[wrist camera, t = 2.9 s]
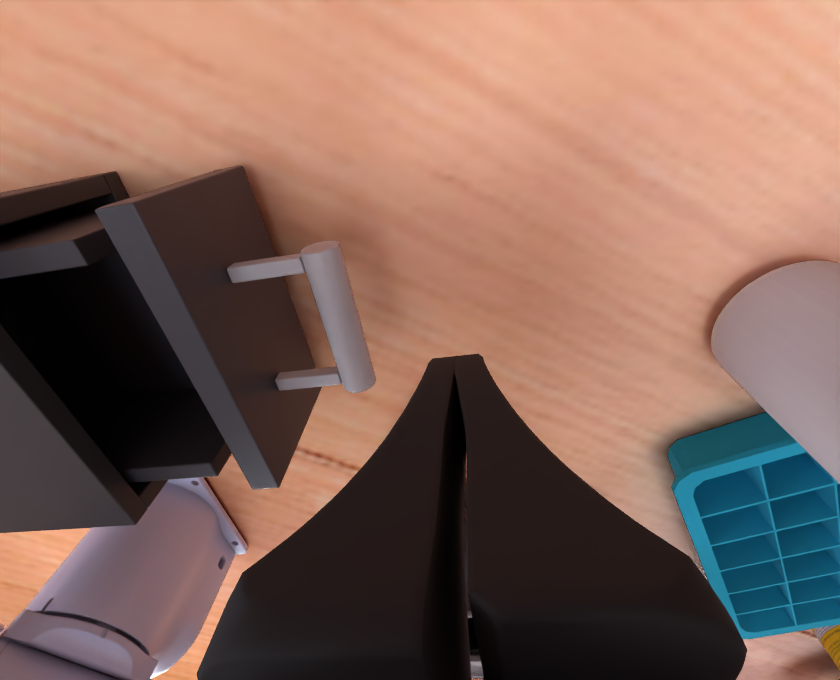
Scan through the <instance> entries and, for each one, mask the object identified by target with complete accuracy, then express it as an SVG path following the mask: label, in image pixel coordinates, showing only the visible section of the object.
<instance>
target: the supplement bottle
mask: <svg viewBox="0 0 840 680" xmlns="http://www.w3.org/2000/svg"><path fill="white" fill-rule="evenodd" d="M812 631H813V632H814V634H815V635H816V637H817V638H818V640H819V641H820V642H821V644H822V645H823V647H824V648H825V650H826V651H827V652H828V654H829V655H830V657H831V658H832V660H833V661H834V663H835V664H836V665H837V667H838V668H839V670H840V624H838V625H832V626H826V627H820V628H814V629H812Z"/></svg>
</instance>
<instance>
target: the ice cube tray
mask: <svg viewBox="0 0 840 680" xmlns="http://www.w3.org/2000/svg"><path fill="white" fill-rule="evenodd" d="M668 459H669V461H670V464H671V467H672V469H673V472H674V475H675V477H676V478H675V480H674V482H673V485H672V487H671V488H672V490H673V493H674V495H675V498H676V501H677V503H678V506H679V508H680V511H681V513H682V516H683V518H684V521H685V523H686V526H687V528H688V531H689V534H690V536H691V539H692V541H693V544H694V546H695V549H696V551H697V554H698V556H699V559H700V562H701V564H702V567H703V569H704V572H705V574H706V577H707V579H708V582H709V584H710V586H711V587H712V589H713V590H714V592H715V593H716V594H717V596H718V597H719V599H720V600H721V602H722V603H723V605H724V606H725V608H726V610H727V611H728V613H729V615H730V616H731V618H732V620H733V621H734V623H735V625H736V627H737V629H738V631H739V633H740V635H741V637H742V639H753V638H759V637H765V636H771V635H777V634H783V633H789V632H795V631H802V630H808V629H814V628H820V627H826V626H832V625H838V624H840V484H839V483H838V482H837V481H836V480H835V479H834V478H833V477H832V476H831V475H830V474H829V473H828V472H827V471H826V470H825V469H824V468H823V467H822V466H821V465H820V464H819V463H818V462H817V461H816V460H815V459H814V458H813V457H812V456H811V455H810V454H809V453H808V452H807V451H806V450H805V449H804V448H803V447H802V446H801V445H800V444H799V443H798V442H797V441H796V440H795V439H794V438H793V437H792V436H791V435H790V434H789V433H788V432H786V431H785V430H784V429H783V428H782V427H781V426H780V425H779V424H778V423H777V422H776V421H775V420H774V419H773V418H772V417H771V416H770V415H769V414H768V413H767V412H765V413H762V414H759V415H755V416H752V417H749V418H746V419H743V420H739V421H736V422H733V423H730V424H727V425H724V426H720V427H717V428H714V429H711V430H708V431H704V432H701V433H698V434H695V435H692V436H688V437H685V438H682V439H679V440H677V441H676V442H675V443H674V444H673V445H672V446H671V447H670V448H669V452H668Z"/></svg>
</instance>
